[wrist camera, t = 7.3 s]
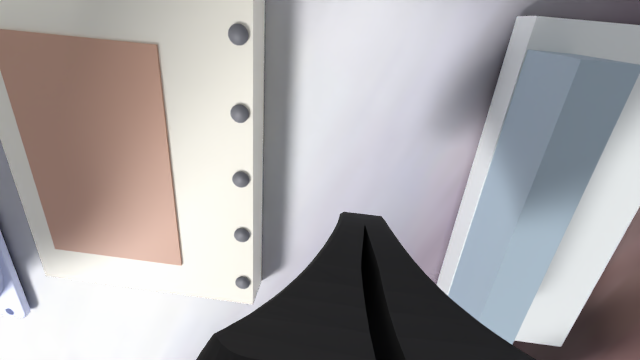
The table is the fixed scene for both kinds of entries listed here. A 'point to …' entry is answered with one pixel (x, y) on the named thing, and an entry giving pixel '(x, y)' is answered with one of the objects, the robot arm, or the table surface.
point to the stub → (549, 178)
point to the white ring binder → (139, 140)
